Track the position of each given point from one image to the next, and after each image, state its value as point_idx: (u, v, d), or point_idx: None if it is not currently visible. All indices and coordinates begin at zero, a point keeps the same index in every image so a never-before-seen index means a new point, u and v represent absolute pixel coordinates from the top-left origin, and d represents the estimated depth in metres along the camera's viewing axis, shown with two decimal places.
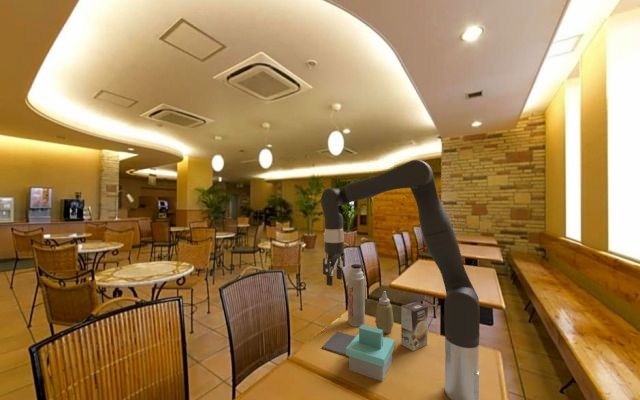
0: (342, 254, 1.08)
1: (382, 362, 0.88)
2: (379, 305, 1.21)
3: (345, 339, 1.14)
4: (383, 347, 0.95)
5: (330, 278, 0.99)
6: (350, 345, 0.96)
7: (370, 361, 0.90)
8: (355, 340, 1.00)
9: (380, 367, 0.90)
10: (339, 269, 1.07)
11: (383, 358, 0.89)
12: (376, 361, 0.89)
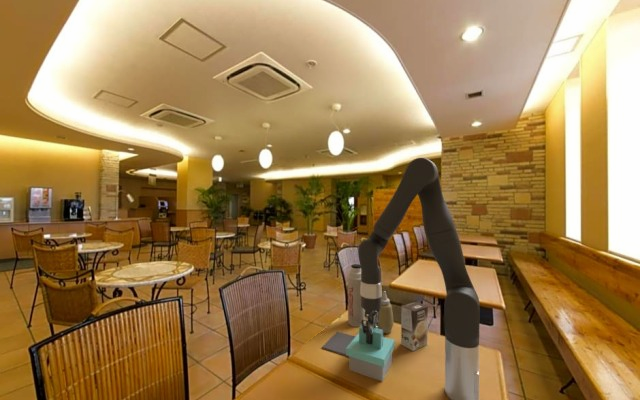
0: (377, 309, 1.01)
1: (382, 362, 0.88)
2: None
3: (345, 339, 1.14)
4: (383, 347, 0.95)
5: (370, 337, 0.95)
6: (350, 345, 0.96)
7: (370, 361, 0.90)
8: (355, 340, 1.00)
9: (380, 367, 0.90)
10: None
11: (383, 358, 0.88)
12: (376, 361, 0.89)
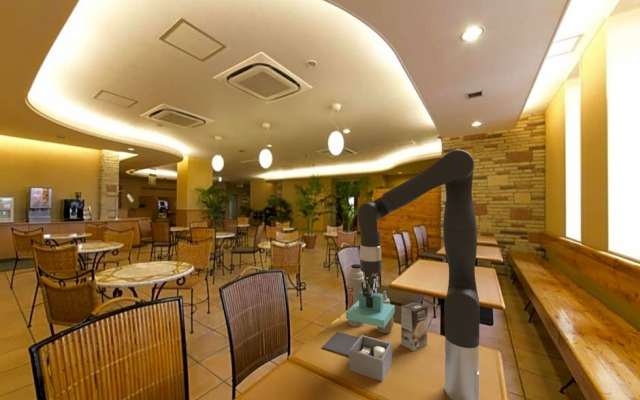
0: (377, 275, 1.01)
1: (382, 323, 0.88)
2: None
3: (345, 339, 1.14)
4: (383, 311, 0.95)
5: (370, 300, 0.94)
6: (350, 309, 0.96)
7: (370, 323, 0.90)
8: (355, 305, 1.00)
9: (380, 367, 0.90)
10: (372, 292, 0.98)
11: (383, 319, 0.88)
12: (376, 322, 0.89)
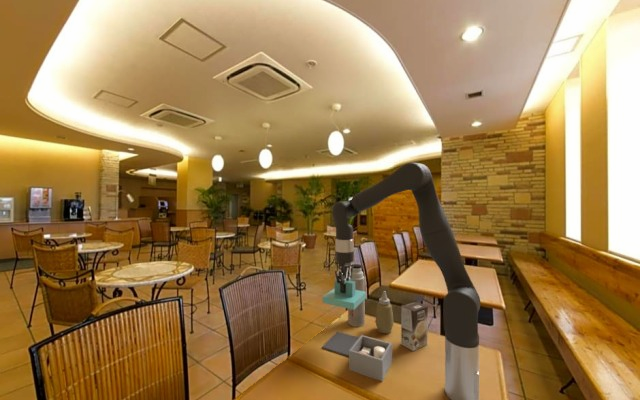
0: (351, 265, 1.15)
1: (352, 305, 1.02)
2: (379, 305, 1.21)
3: (345, 339, 1.14)
4: (355, 296, 1.09)
5: (343, 286, 1.08)
6: (326, 295, 1.10)
7: (342, 306, 1.04)
8: (331, 292, 1.13)
9: (380, 367, 0.90)
10: None
11: (353, 302, 1.02)
12: (347, 305, 1.03)
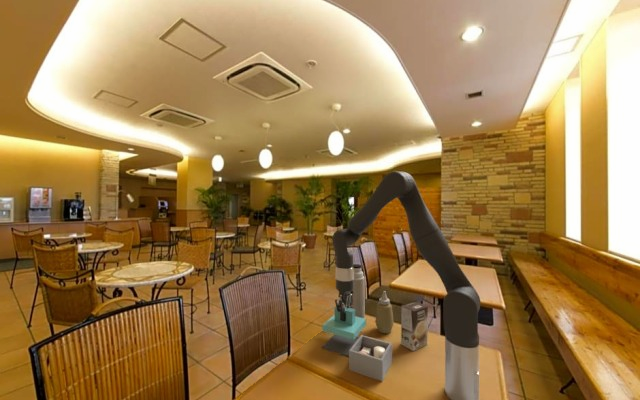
0: (351, 292, 1.15)
1: (352, 335, 1.02)
2: (379, 305, 1.21)
3: (345, 339, 1.14)
4: (355, 324, 1.09)
5: (343, 314, 1.09)
6: (326, 322, 1.10)
7: (342, 335, 1.04)
8: (331, 318, 1.14)
9: (380, 367, 0.90)
10: None
11: (353, 332, 1.02)
12: (347, 335, 1.03)
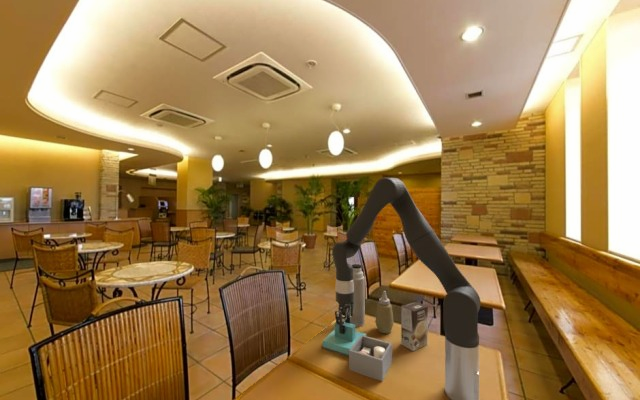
0: (351, 303, 1.15)
1: None
2: (379, 305, 1.21)
3: None
4: (355, 340, 1.09)
5: (343, 327, 1.08)
6: (326, 338, 1.10)
7: (342, 351, 1.04)
8: (332, 334, 1.14)
9: (380, 367, 0.90)
10: (347, 318, 1.13)
11: None
12: (347, 351, 1.03)
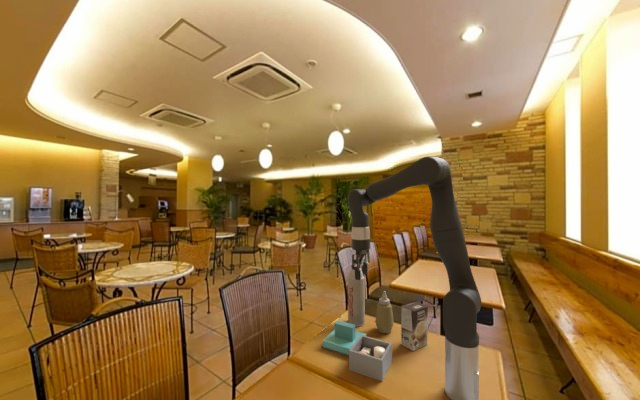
0: (367, 251, 1.15)
1: None
2: (379, 305, 1.21)
3: None
4: (355, 340, 1.09)
5: (358, 273, 1.06)
6: (326, 338, 1.10)
7: (342, 351, 1.04)
8: (332, 334, 1.14)
9: (380, 367, 0.90)
10: (365, 265, 1.14)
11: None
12: (347, 351, 1.03)
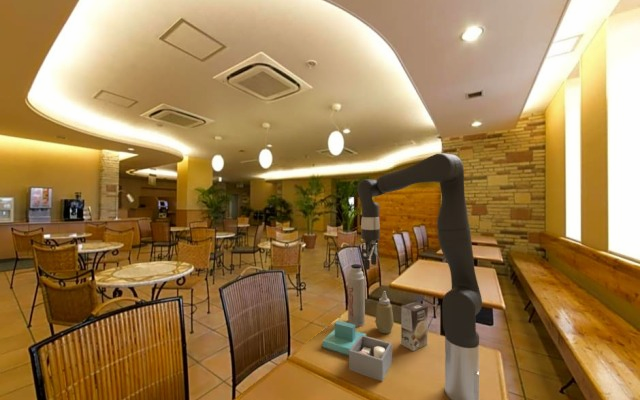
0: (376, 241, 1.16)
1: None
2: (379, 305, 1.21)
3: None
4: (355, 340, 1.09)
5: (368, 262, 1.07)
6: (326, 338, 1.10)
7: (342, 351, 1.04)
8: (332, 334, 1.14)
9: (380, 367, 0.90)
10: (373, 255, 1.15)
11: None
12: (347, 351, 1.03)
